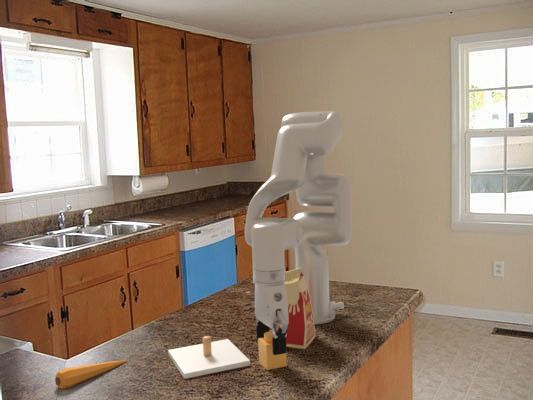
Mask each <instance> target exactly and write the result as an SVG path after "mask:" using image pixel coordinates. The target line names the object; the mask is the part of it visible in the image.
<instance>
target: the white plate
mask: <svg viewBox="0 0 533 400" xmlns="http://www.w3.org/2000/svg"><path fill="white" fill-rule="evenodd" d="M167 353H168V354H167V355H168V357H169V358H170V360H171V362H173V364H174V365H175V367H176V368H177V370H178V371H179V373H180V375H181V377H183V379H184V380H187V379H191V378H195V377H199V376H200V377H201V376H205V375H209V374H216V373H220V372H224V371H230V370H234V369H239V368H245V367H248V366H251V360H250V359H249V358H248V357H247V356H246V355H245V354H244V353H243V352H242V351H241V350H240V349H239V348H238V347H237V346H236V345H235V344H234V343H233V342H231V340H230V339H228V338H225V339H220V340H215V341H214V340H213V341H212V336H210V335H205V336H202V343H199V344H193V345H188V346H187V345H186V346H182V347H177V348H176V347H175V348H172V349H167Z"/></svg>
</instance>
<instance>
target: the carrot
mask: <svg viewBox="0 0 533 400" xmlns="http://www.w3.org/2000/svg"><path fill="white" fill-rule="evenodd" d="M129 361H130V359H126V360H125V359H123V360H115V361H113V360H112V361H106V362H101V363H100V362H99V363H93V364H86V365H80V366H79V365H78V366H74V367H73V366H72V367H68V368H63V369H61V370H59V371H58V372H57V373H56V374H55V378H54V380H55V385H56V386H58V387H59V389H60V388H61V389H60V390H66V388H67V389H70V388H72V387H74V386H76V385H79V384H81V383H83V382H85V381H87V380H90V379H93V378H95V377H97V376H99V375H101V374H104V373H105V372H108V371H110V370H113V369H114V368H116V367H118V366H120V365H122V364H125V363H127V362H129ZM58 387H57V388H58Z"/></svg>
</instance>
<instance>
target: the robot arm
mask: <svg viewBox="0 0 533 400" xmlns="http://www.w3.org/2000/svg"><path fill="white" fill-rule="evenodd" d="M280 125H281V128H280V129H279V130H278V132H277V136H276V137H277V138H276V140H275V141H276V143H275V147H274V155H273V161H272V166H271V174H270V177H269V179H268V180H267V181H265V182H264V183H263V184H262V185H261V186H260V187H259V189H258V190H257V191H256V193H254V195H253V197H252V198H251V200H250V201H249V203H248V207H247V211H246V218H245V223H244V239H245V242H246V244H247V245H249V246H250V247H251V249H252V250H251V251H252V252H251V257H252V283H253V285H254V302H255V304H253V305H254V316H255V330H256V331H255V333H256V334H255V337H256V342H258V338H263V337H264V333H266V332H269V331H270V329H271V331H272V332H273V335H274V337H273V338H272V346H273V354H274V355H279V354H284V353H286V354H287V347H286V337H287V327H288V323H289V316H288V302H287V294H286V288H285V284H284V283H285V272H286V263H285V261H286V260H285V259H286V258H285V257H286V256H285V251H287V250H294V258H295V269H297V268H301V267H302V270H301V272H302V274H303V275H304V278H305V281H306V285H307V289H308V292H309V296H310V301H311V306H312V312H313V317H314V326H315V325H323V324H327V323H331V322H332V321H334V320H335V319H336V314H335V310H340V309H344V308H345V303H344V301H339V302H336V301H335V300H333V301H330V279H329V257H328V255H327V253H326V252H325V250H324V249H323V248H322V246H345V245H348V244H349V243H350V242H351V240H352V236H353V189H352V188H353V187H352V183H351V179H350V178H349V177H348V176H347V174H343V173H327V172H326V156H327V155H329V154H331V153H332V152H333V150H334V149H335V147H336V146H337V144H338V143H339V142H340V141H341V139H342V137H343V133H344V118H343V117H342V115H341V114H340V113H339V112H337V111H334V110H328V111H327V110H326V111H321V110H320V111H302V112H293V113H288V114H287V115H284V116H283V117H282V120H281V124H280ZM294 191H295V193H296V200H297V202H298V204H299V205H300V206H303V207H310V208H311V207H312V208H333V209H334V211H318V210H317V211H313V210H312V211H311V210H310V211H300V212H298V213H296V214H295V215H294V216H293V217H292V218H289V217H288V218H287V217H283V218H282V217H263V214H264V212H265V211H266V209H267V208H268V206H269V205H270V204H271V203H273V202H274V201H275V200H277V199H279V198H281V197H283V196H285V195H288V194H290V193H292V192H294ZM277 323H278V324H277ZM279 327H280V328H279ZM277 328H279V329H278V331H277Z"/></svg>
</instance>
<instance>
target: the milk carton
mask: <svg viewBox="0 0 533 400" xmlns="http://www.w3.org/2000/svg"><path fill="white" fill-rule="evenodd" d="M301 270H302V267H301V268H297V269H296V268H295V269H292V270H291V269H290V270H287V271H286V270H285V283H284V284H285V288H286V294H287V302H288V316H289V323H288V327H287V337H286V348H295V349H301V350H303V349H304V350H305V349H306V348H308V347H309V346H310V344H311V343H312V342H313V340H314V339H315V338H316V327H315V325H314V317H313V312H312V306H311V301H310V296H309V292H308V289H307V285H306V281H305V278H304V275H303V274H302V272H301ZM276 324H278V323H276ZM279 328H280V327H279ZM279 328H276V331H278V329H279Z"/></svg>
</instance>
